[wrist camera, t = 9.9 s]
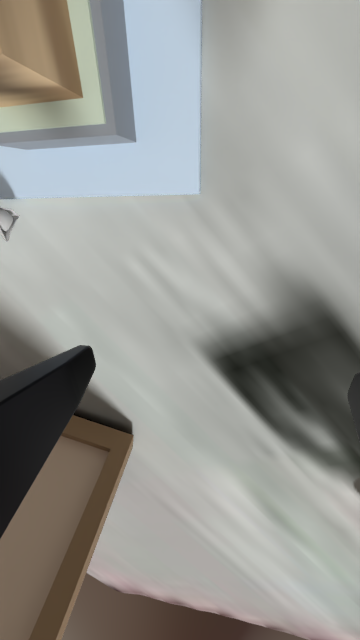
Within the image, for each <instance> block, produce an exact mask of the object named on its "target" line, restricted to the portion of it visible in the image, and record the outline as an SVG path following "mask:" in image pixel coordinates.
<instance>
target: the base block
mask: <svg viewBox="0 0 360 640" xmlns="http://www.w3.org/2000/svg"><path fill="white" fill-rule="evenodd" d="M67 4H68V10H69V16H70V22H71V28H72V34H73V39H74V45H75V51H76V57H77V63H78V69H79V75H80V81H81V87H82V93H83V98H78V99H70V100H61V101H52V102H44V103H35V104H26V105H18V106H9V107H0V146H5V147H12V148H18V149H25V150H32V149H47V148H61V147H76V146H91V145H106V144H120V143H135V142H136V131H135V121H134V110H133V99H132V88H131V77H130V67H129V56H128V45H127V34H126V24H125V13H124V2H123V0H67Z"/></svg>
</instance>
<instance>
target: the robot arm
mask: <svg viewBox="0 0 360 640" xmlns="http://www.w3.org/2000/svg"><path fill="white" fill-rule="evenodd" d="M95 367H96V363H95V358H94V354H93V350H92V348H91V347H90V346H85V345H79V346H77V347H75V348H72V349H70V350H68V351H66V352H63V353H61V354H59V355H57V356H55V357H52V358H50V359H48V360H46V361H43V362H41V363H39V364H37V365H34V366H32V367H30V368H28V369H25V370H23V371H21V372H19V373H17V374H14V375H12V376H10V377H8V378H5V379H3V380H1V381H0V539H1V537H2V535H3V534H4V532H5V530H6V529H7V527H8V525H9V523H10V522H11V520H12V518H13V517H14V515H15V513H16V511H17V510H18V508H19V506H20V505H21V503H22V501H23V499H24V498H25V496H26V494H27V493H28V491H29V489H30V488H31V486H32V484H33V482H34V481H35V479H36V477H37V476H38V474H39V472H40V470H41V469H42V467H43V465H44V464H45V462H46V460H47V458H48V457H49V455H50V453H51V452H52V450H53V448H54V446H55V445H56V443H57V441H58V440H59V438H60V436H61V435H62V433H63V431H64V429H65V428H66V426H67V424H68V423H69V421H70V419H71V417H72V416H73V414H74V412H75V411H76V409H77V407H78V405H79V403H80V401H81V399H82V397H83V395H84V393H85V390H86V388H87V386H88V384H89V382H90V379H91V377H92V375H93V373H94V371H95ZM348 401H349V405H350V409H351V412H352V416H353V420H354V424H355V427H356V431H357V435H358V438H359V442H360V373H357V374H356V375H355V376H354V378H353V381H352V383H351V386H350V388H349V391H348Z"/></svg>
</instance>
